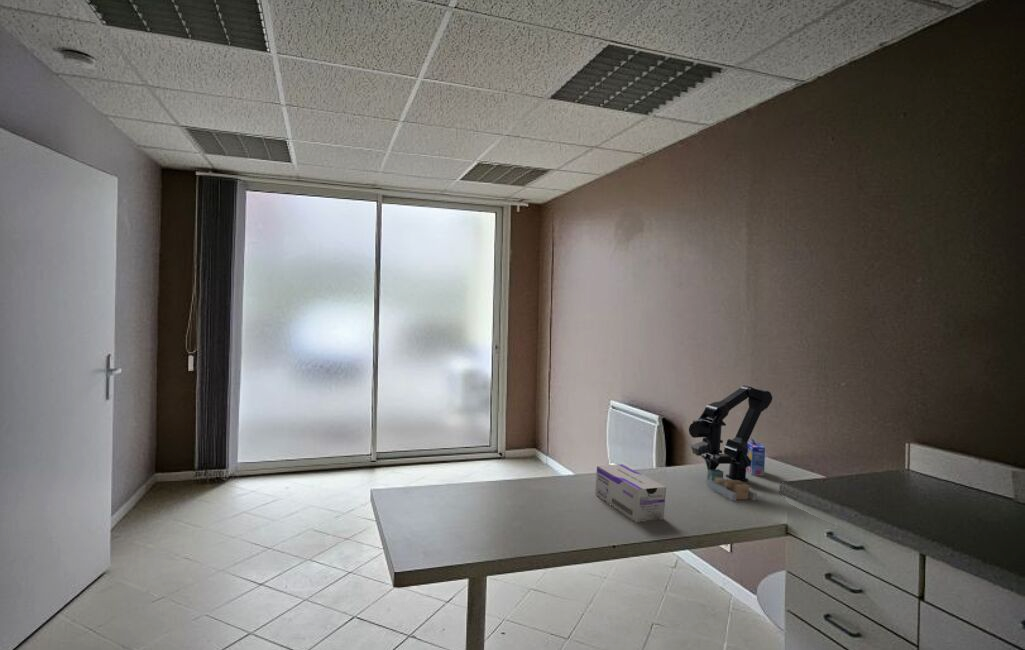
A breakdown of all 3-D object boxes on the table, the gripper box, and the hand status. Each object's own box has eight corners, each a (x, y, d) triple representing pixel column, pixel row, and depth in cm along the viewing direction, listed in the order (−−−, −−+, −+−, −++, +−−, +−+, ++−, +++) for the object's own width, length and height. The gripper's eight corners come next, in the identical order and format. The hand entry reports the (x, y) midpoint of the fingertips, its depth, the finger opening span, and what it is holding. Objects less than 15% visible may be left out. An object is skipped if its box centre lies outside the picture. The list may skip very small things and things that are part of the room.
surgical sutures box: (663, 519, 172) (665, 486, 171) (635, 522, 168) (637, 489, 167) (620, 493, 195) (622, 464, 195) (595, 495, 191) (597, 465, 191)
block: (726, 493, 201) (727, 480, 200) (737, 493, 202) (738, 480, 202) (736, 499, 195) (737, 485, 195) (748, 498, 196) (749, 485, 196)
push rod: (707, 480, 213) (707, 469, 213) (718, 480, 214) (718, 469, 214) (726, 491, 201) (727, 479, 200) (737, 491, 202) (738, 479, 202)
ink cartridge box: (743, 468, 236) (745, 435, 236) (756, 469, 236) (758, 436, 235) (751, 475, 227) (753, 441, 226) (764, 476, 226) (766, 442, 226)
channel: (707, 485, 208) (707, 479, 208) (729, 485, 211) (730, 479, 210) (732, 500, 193) (732, 493, 193) (756, 500, 195) (757, 493, 195)
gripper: (682, 430, 222) (680, 467, 222) (708, 442, 204) (705, 482, 204) (707, 430, 224) (704, 467, 225) (734, 442, 206) (731, 482, 206)
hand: (710, 474), depth 215 cm, fingers closed
